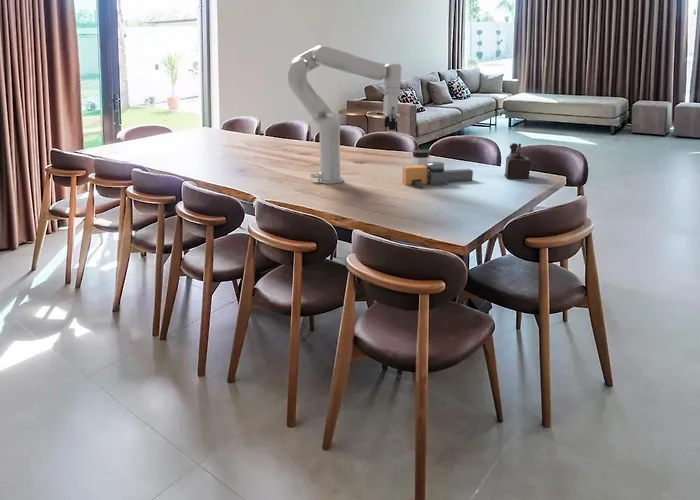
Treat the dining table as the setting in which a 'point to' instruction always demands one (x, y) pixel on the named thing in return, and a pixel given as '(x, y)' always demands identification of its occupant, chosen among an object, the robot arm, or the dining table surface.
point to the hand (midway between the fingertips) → (389, 128)
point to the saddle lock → (414, 174)
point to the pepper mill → (517, 164)
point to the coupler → (443, 175)
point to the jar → (420, 157)
